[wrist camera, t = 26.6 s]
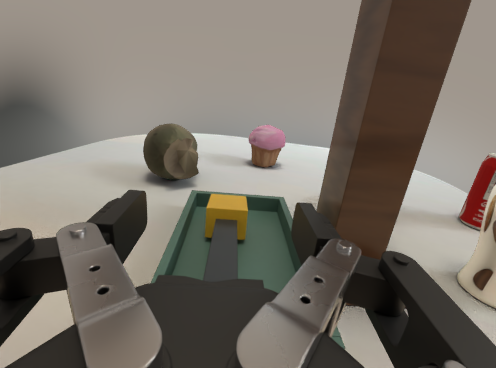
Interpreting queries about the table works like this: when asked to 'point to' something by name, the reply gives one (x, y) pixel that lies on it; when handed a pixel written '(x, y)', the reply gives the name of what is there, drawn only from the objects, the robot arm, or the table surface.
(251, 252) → the tray
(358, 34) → the stand
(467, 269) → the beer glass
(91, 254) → the robot arm
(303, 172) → the table surface
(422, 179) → the table surface
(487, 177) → the soda can
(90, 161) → the table surface
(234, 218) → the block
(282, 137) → the cupcake
